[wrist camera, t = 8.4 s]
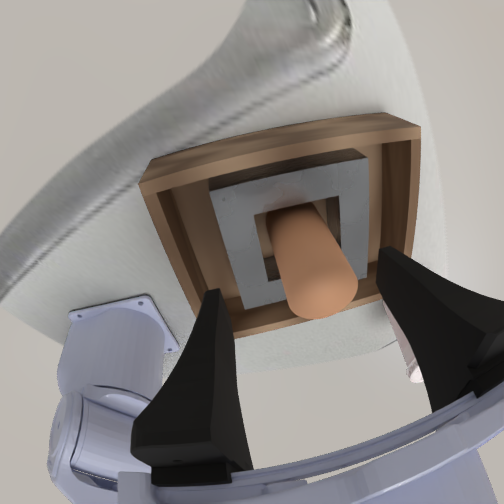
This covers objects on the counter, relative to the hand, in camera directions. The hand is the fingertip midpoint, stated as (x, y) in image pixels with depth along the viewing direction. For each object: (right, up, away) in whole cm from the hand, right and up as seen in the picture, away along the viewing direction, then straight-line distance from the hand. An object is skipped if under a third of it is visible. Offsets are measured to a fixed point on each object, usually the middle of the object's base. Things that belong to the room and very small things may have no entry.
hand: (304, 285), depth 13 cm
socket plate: (+1, +4, +10) cm, 11 cm away
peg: (+1, +4, +9) cm, 10 cm away
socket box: (+1, +4, +10) cm, 11 cm away
